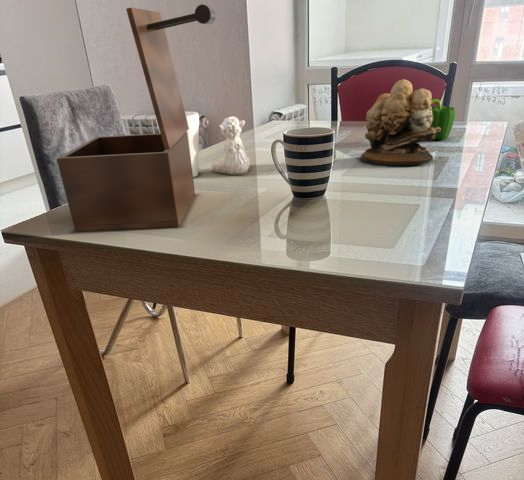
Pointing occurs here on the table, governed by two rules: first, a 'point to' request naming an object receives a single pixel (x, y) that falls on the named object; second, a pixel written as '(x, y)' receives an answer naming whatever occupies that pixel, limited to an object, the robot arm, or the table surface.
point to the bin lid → (163, 67)
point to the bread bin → (127, 182)
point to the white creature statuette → (232, 149)
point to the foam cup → (192, 139)
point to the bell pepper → (442, 119)
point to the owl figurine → (400, 127)
